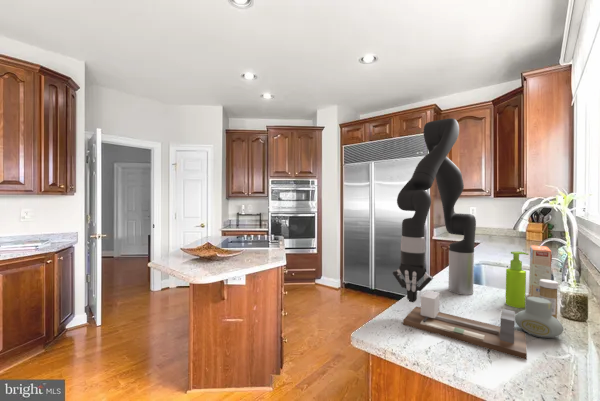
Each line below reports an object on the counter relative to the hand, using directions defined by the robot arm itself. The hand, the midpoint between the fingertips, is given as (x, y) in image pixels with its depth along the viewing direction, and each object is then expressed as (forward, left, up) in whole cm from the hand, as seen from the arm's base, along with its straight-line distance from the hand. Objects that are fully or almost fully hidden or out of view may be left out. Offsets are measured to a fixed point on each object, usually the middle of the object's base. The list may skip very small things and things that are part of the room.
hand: (411, 301), depth 94 cm
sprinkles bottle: (-24, +36, -5) cm, 43 cm away
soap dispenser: (-36, +28, -5) cm, 46 cm away
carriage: (+2, +6, -3) cm, 7 cm away
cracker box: (-48, +35, -5) cm, 59 cm away
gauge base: (+1, +15, -5) cm, 16 cm away
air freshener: (-12, +33, -5) cm, 35 cm away
